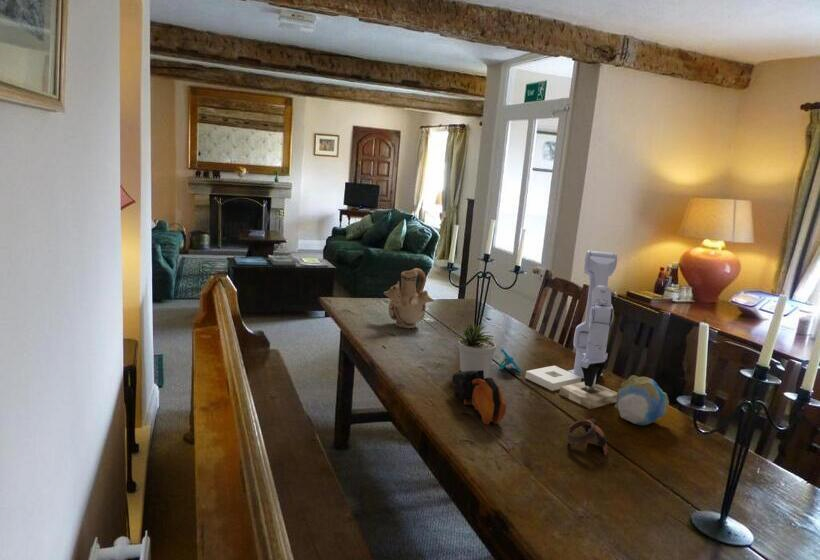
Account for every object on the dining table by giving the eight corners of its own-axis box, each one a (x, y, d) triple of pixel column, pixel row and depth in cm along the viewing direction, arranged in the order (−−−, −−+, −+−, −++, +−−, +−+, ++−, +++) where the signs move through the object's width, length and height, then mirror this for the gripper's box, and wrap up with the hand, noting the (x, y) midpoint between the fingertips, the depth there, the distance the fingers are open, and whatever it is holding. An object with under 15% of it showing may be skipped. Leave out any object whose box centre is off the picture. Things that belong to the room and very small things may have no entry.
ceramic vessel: (381, 319, 247) (385, 264, 242) (422, 320, 252) (427, 265, 247) (388, 332, 230) (393, 272, 225) (433, 332, 234) (438, 274, 229)
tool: (473, 420, 171) (470, 370, 173) (512, 424, 150) (507, 367, 152) (449, 421, 168) (446, 371, 171) (485, 426, 147) (481, 368, 150)
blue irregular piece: (524, 372, 191) (506, 349, 190) (511, 383, 191) (492, 361, 190) (518, 365, 202) (500, 344, 201) (506, 375, 202) (488, 354, 201)
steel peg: (586, 392, 179) (589, 365, 177) (595, 395, 177) (598, 368, 175) (582, 394, 176) (585, 367, 175) (591, 397, 174) (594, 370, 173)
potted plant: (454, 366, 195) (459, 311, 191) (493, 372, 193) (500, 316, 189) (449, 379, 183) (454, 320, 179) (491, 385, 180) (498, 325, 177)
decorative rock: (635, 376, 153) (680, 377, 157) (600, 373, 168) (642, 374, 172) (636, 428, 151) (682, 428, 155) (601, 420, 166) (643, 419, 170)
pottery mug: (608, 463, 137) (596, 436, 135) (572, 467, 142) (559, 441, 140) (613, 433, 147) (601, 407, 145) (578, 438, 152) (566, 413, 150)
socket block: (553, 372, 197) (554, 365, 197) (580, 384, 188) (581, 377, 187) (525, 377, 190) (526, 371, 189) (552, 390, 180) (553, 383, 179)
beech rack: (587, 387, 185) (588, 380, 185) (618, 401, 176) (620, 393, 175) (559, 394, 177) (560, 386, 177) (590, 409, 168) (591, 401, 167)
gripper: (595, 336, 181) (589, 375, 184) (574, 344, 170) (568, 385, 173) (616, 341, 176) (609, 382, 179) (596, 350, 166) (589, 393, 168)
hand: (590, 384), depth 176 cm, fingers open, 3 cm apart
